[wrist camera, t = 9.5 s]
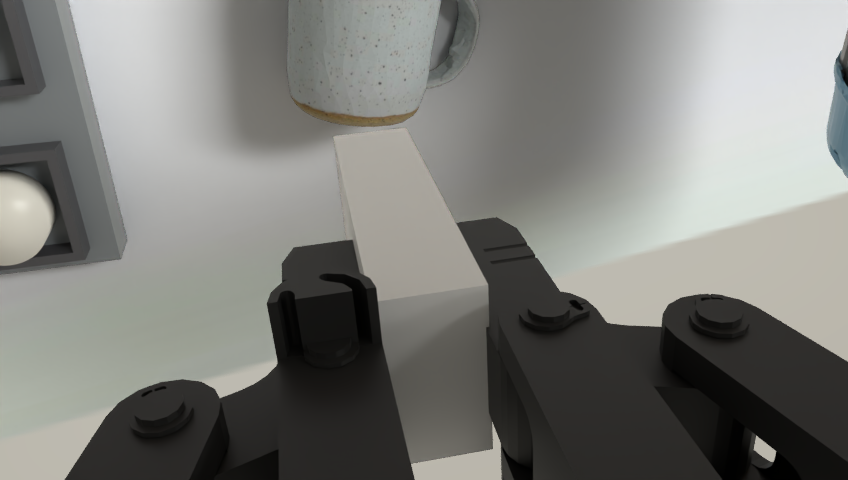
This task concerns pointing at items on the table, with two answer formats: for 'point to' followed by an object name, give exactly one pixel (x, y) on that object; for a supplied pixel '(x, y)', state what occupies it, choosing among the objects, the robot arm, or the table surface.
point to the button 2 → (23, 217)
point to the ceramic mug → (370, 57)
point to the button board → (56, 134)
